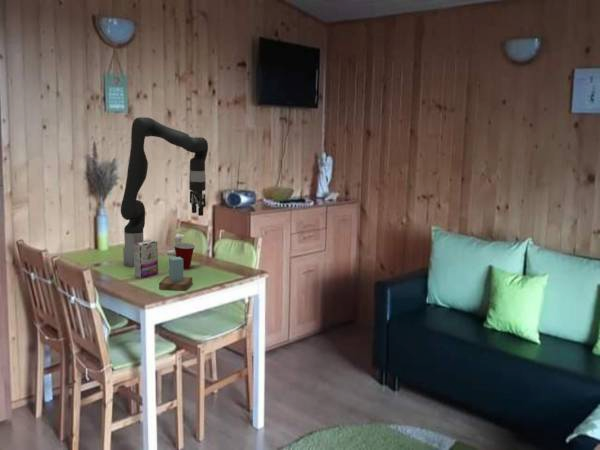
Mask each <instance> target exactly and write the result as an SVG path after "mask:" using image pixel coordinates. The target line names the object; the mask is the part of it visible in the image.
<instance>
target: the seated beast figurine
mask: <svg viewBox="0 0 600 450" xmlns="http://www.w3.org/2000/svg"><path fill="white" fill-rule="evenodd" d="M184 237H185V235H184V234H181V233H176V234H175V235H174V238H173V240H174V244H176V243H183V242H182V240H183V238H184ZM166 255H168V256H176V252H175V247H173V249H169V250H167V251H166Z"/></svg>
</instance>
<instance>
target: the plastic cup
mask: <svg viewBox="0 0 600 450" xmlns="http://www.w3.org/2000/svg"><path fill="white" fill-rule="evenodd" d="M173 246H174V247H175V252H176V255H175V257H181V258H182V259H183V270H186V269H187V270H188V269H190V267H191V265H192V260H193V259H192V258H193V254H194V250H195V248H196V244H193V243H189V242H182V243H176V244H175V243H174V244H173ZM174 247H173V248H174Z"/></svg>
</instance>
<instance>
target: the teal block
mask: <svg viewBox="0 0 600 450" xmlns="http://www.w3.org/2000/svg"><path fill="white" fill-rule="evenodd" d="M168 276H169V280H171V281H172V282H177V281H183V277H184V269H183V259H182V258H181V257H176V256H175V257H174V256H173V257H168Z"/></svg>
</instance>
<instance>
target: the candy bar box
mask: <svg viewBox="0 0 600 450" xmlns="http://www.w3.org/2000/svg"><path fill="white" fill-rule="evenodd" d="M158 253H159V251H158V240H155V239H154V240H153V239H149V240H145V241H144V240H143V242H139V243H135V244H134V267H133V268H134V277H135V278H138V279H144V278H149V277H152V276H154V275H158V274H159V262H158V261H159V259H158V256H159V255H158Z"/></svg>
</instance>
